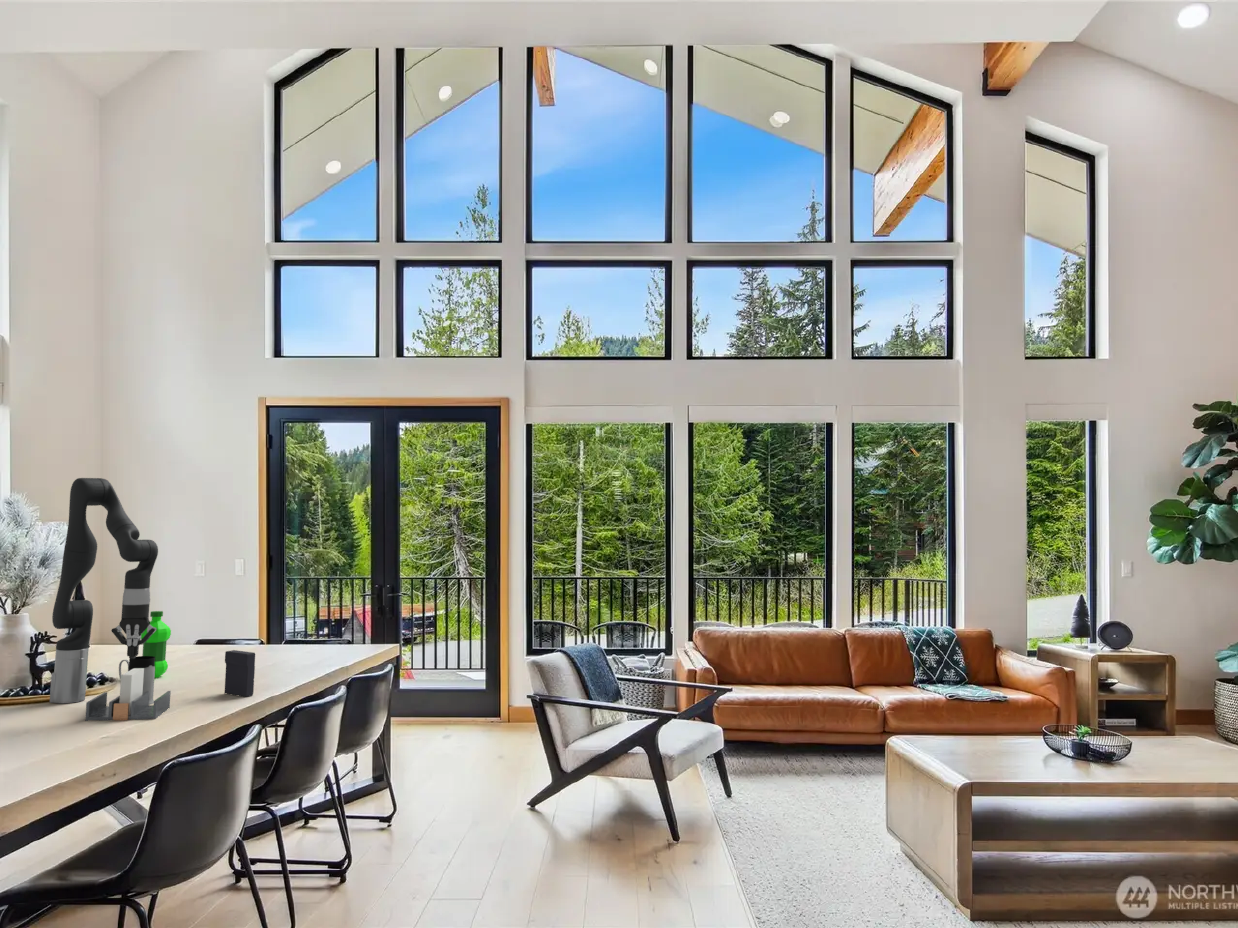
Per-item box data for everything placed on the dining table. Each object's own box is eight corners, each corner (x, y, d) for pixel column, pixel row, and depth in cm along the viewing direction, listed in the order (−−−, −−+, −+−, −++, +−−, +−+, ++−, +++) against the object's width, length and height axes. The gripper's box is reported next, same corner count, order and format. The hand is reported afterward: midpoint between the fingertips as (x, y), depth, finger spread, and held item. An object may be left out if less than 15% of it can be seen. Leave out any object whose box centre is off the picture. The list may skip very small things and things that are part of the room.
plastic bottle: (164, 673, 328) (168, 609, 330) (170, 677, 320) (174, 612, 322) (135, 675, 322) (139, 610, 324) (140, 680, 314) (144, 613, 315)
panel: (118, 714, 257) (121, 675, 258) (131, 705, 269) (133, 668, 270) (129, 714, 258) (131, 674, 259) (141, 705, 269) (144, 668, 270)
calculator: (255, 695, 294) (257, 652, 295) (244, 697, 290) (247, 653, 291) (232, 691, 298) (235, 649, 299) (222, 693, 294) (225, 651, 295)
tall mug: (137, 707, 272) (141, 660, 273) (105, 702, 276) (108, 657, 277) (160, 701, 280) (163, 656, 281) (128, 697, 284) (131, 653, 285)
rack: (84, 721, 252) (85, 702, 252) (103, 709, 267) (104, 692, 267) (155, 719, 256) (156, 701, 257) (169, 707, 271) (170, 690, 272)
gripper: (108, 603, 259) (104, 660, 258) (155, 603, 262) (151, 659, 261) (117, 601, 266) (113, 656, 265) (162, 601, 270) (159, 655, 268)
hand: (132, 657), depth 263 cm, fingers closed
